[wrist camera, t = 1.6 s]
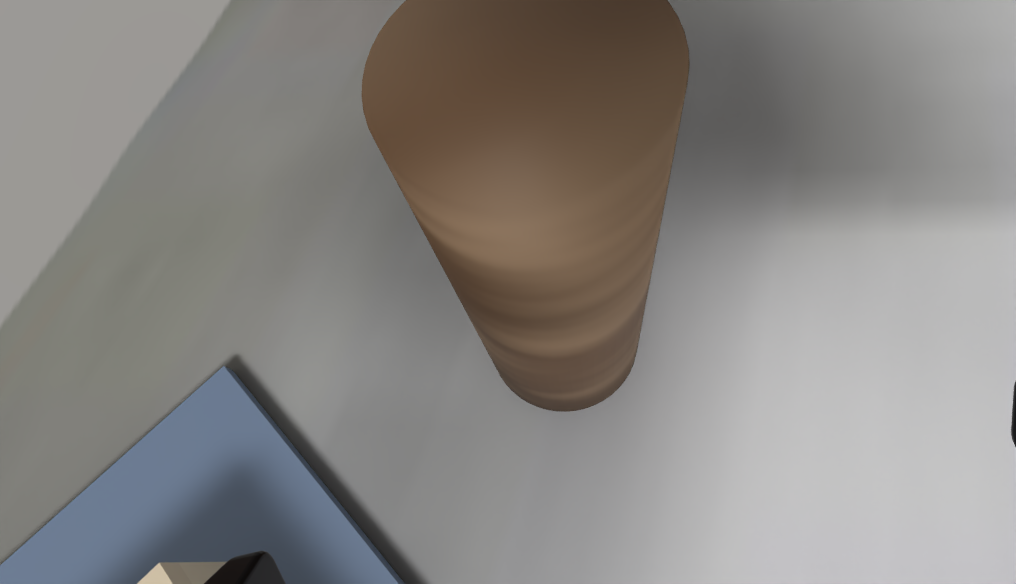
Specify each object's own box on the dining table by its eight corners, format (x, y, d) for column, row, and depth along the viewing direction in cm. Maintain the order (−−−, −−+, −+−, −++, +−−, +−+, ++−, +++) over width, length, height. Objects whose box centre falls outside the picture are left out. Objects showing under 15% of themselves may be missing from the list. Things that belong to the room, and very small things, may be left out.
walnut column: (668, 334, 21) (761, 41, 9) (566, 443, 20) (521, 274, 8) (559, 247, 23) (519, -92, 11) (462, 343, 22) (299, 85, 10)
